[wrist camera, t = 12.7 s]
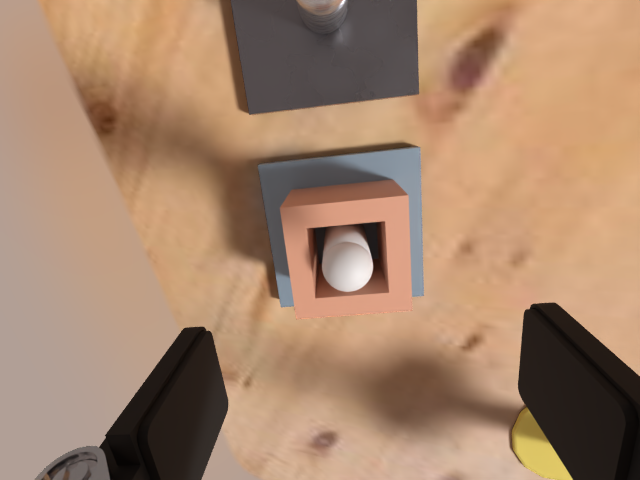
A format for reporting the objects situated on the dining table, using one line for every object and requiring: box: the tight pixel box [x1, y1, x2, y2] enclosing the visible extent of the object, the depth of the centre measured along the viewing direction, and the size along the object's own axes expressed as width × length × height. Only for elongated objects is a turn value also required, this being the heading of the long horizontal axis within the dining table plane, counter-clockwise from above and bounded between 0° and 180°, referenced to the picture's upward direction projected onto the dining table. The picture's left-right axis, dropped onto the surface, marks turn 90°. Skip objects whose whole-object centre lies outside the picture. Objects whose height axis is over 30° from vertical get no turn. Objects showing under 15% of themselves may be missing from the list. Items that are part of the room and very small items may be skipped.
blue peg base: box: [258, 146, 424, 307], centre depth 21 cm, size 10×10×8 cm
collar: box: [280, 179, 412, 319], centre depth 21 cm, size 6×6×5 cm
